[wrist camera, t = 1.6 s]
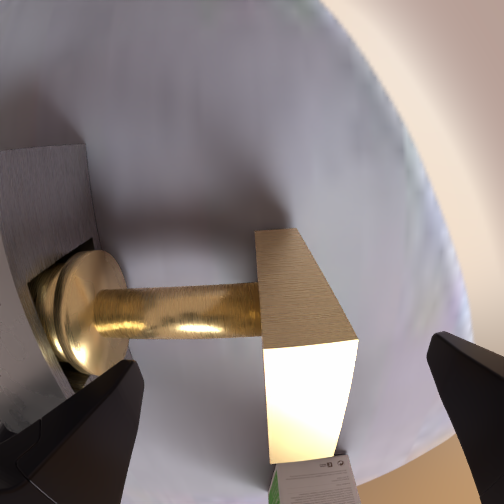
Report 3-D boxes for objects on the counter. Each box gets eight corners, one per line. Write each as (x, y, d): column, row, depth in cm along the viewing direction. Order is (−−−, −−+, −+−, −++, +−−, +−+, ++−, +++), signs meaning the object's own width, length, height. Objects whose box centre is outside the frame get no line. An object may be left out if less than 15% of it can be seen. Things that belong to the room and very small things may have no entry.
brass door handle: (51, 325, 14) (-20, 412, 7) (25, 243, 13) (-76, 310, 5) (297, 322, 14) (331, 462, 7) (295, 219, 13) (360, 321, 5)
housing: (47, 370, 16) (8, 430, 10) (-12, 176, 12) (-90, 200, 6) (141, 382, 16) (111, 463, 10) (85, 144, 12) (-12, 152, 6)
